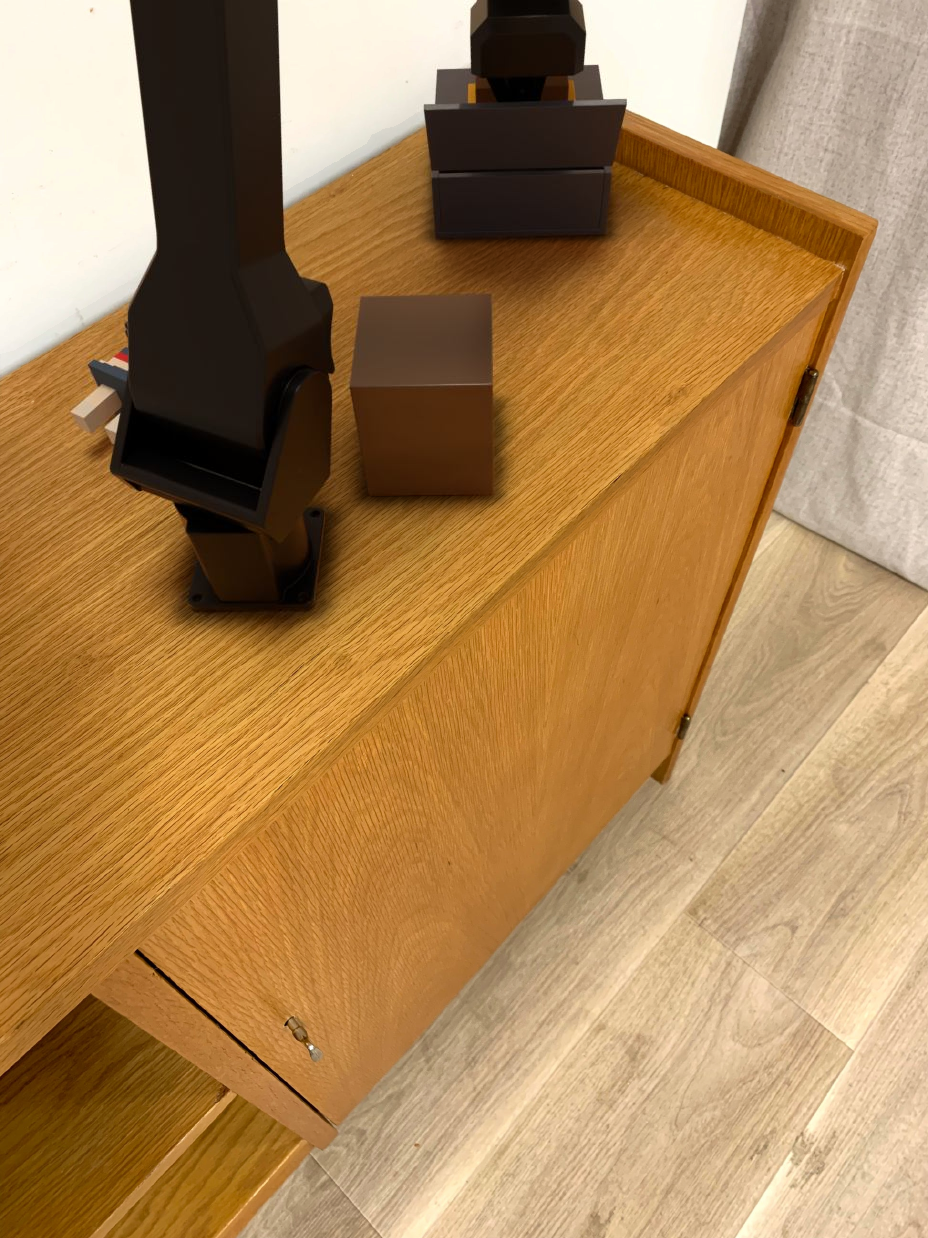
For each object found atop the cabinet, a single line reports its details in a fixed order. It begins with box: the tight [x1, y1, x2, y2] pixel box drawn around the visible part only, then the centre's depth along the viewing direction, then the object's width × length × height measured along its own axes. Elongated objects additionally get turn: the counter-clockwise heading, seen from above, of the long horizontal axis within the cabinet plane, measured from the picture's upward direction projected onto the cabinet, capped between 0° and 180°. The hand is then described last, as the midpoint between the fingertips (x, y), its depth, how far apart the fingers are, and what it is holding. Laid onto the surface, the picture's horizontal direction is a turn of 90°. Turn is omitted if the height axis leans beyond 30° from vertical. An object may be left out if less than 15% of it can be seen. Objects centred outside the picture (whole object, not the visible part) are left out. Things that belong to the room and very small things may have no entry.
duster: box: [468, 76, 575, 103], centre depth 59 cm, size 7×4×3 cm, turn 89°
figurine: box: [70, 321, 128, 445], centre depth 54 cm, size 9×4×15 cm
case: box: [430, 64, 613, 239], centre depth 64 cm, size 13×12×5 cm
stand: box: [348, 293, 495, 497], centre depth 48 cm, size 7×7×8 cm
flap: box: [423, 98, 628, 172], centre depth 55 cm, size 6×12×1 cm
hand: (520, 123), depth 60 cm, fingers closed on duster, 4 cm apart
